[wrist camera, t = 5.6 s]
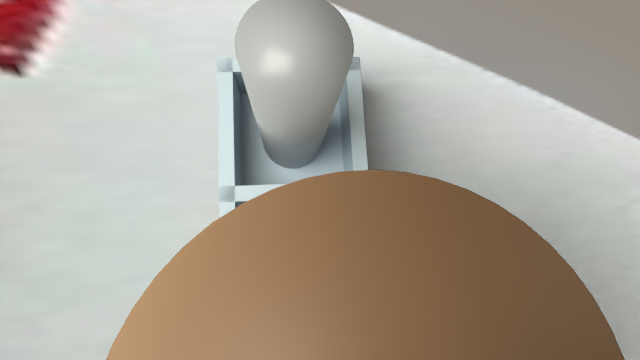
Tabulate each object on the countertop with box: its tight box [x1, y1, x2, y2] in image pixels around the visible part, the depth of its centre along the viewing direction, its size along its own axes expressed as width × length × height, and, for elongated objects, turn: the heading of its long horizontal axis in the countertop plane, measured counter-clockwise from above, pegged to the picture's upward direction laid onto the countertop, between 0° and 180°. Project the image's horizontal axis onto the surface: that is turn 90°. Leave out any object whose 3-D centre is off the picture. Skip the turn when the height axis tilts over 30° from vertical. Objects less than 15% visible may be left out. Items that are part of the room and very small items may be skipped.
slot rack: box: [217, 57, 368, 218], centre depth 20 cm, size 15×9×4 cm, turn 3°
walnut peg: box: [106, 170, 624, 360], centre depth 9 cm, size 4×4×13 cm
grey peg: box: [235, 0, 354, 169], centre depth 16 cm, size 4×4×11 cm
